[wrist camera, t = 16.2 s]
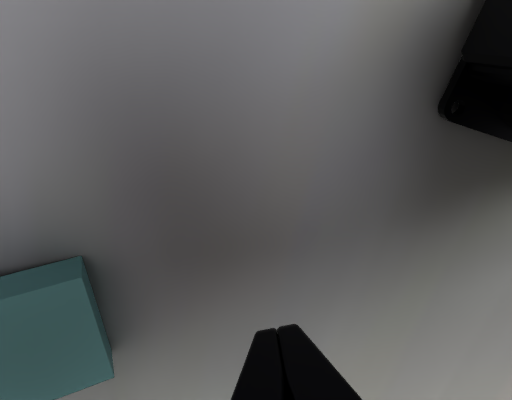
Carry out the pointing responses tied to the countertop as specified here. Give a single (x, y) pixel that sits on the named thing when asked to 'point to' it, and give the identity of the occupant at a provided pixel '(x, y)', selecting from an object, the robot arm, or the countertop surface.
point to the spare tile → (51, 333)
